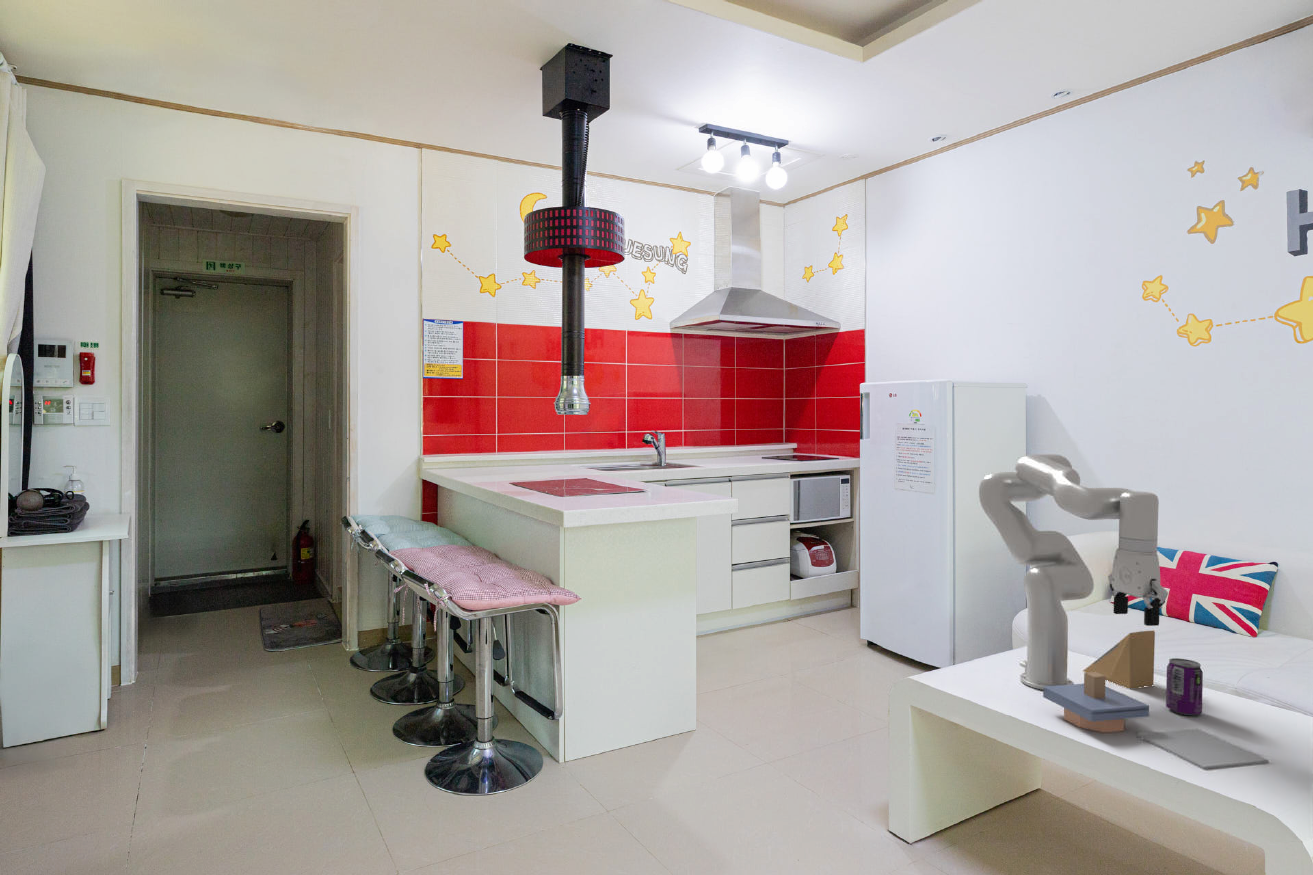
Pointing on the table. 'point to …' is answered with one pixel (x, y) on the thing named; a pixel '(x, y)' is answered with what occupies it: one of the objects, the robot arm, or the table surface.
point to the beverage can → (1184, 686)
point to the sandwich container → (1128, 661)
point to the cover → (1095, 700)
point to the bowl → (1094, 723)
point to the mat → (1202, 748)
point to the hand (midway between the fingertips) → (1135, 619)
